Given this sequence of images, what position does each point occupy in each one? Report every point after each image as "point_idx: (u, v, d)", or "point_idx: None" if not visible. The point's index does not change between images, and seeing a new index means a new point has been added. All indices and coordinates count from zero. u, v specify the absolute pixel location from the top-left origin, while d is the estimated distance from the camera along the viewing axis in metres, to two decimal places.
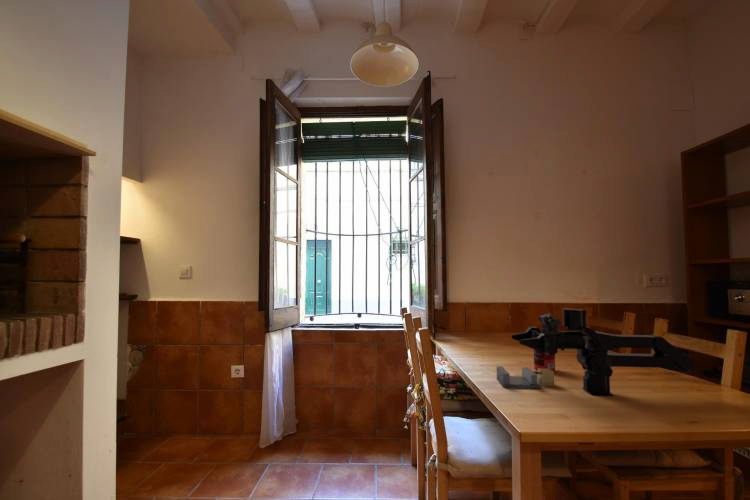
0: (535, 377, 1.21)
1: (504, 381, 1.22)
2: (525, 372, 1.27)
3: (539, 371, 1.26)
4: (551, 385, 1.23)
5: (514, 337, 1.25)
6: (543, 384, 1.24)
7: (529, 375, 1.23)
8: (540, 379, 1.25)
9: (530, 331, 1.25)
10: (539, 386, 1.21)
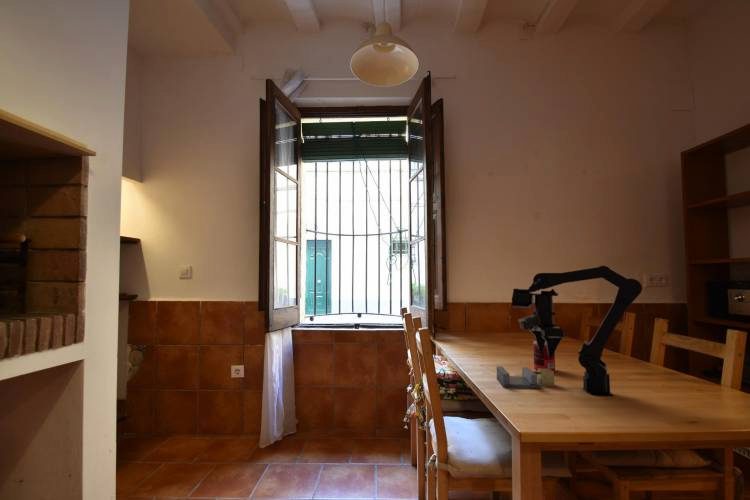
0: (535, 377, 1.21)
1: (504, 381, 1.22)
2: (525, 372, 1.27)
3: (539, 371, 1.26)
4: (551, 385, 1.23)
5: (541, 348, 1.31)
6: (543, 384, 1.24)
7: (529, 375, 1.23)
8: (540, 379, 1.25)
9: (534, 332, 1.32)
10: (539, 386, 1.21)
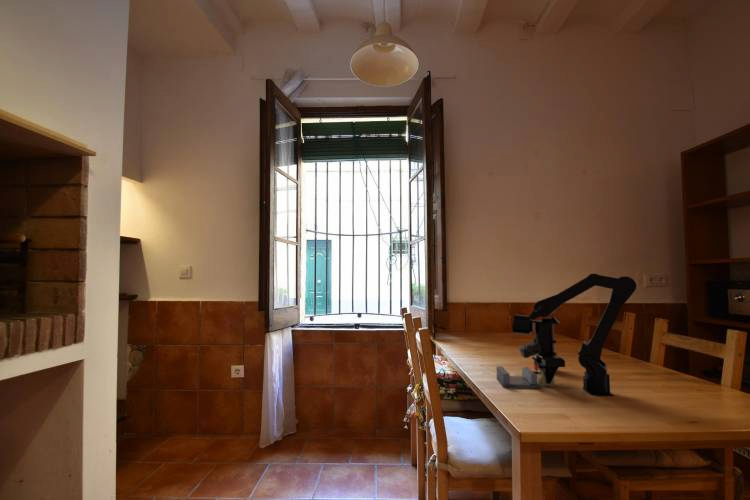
0: (535, 377, 1.21)
1: (504, 381, 1.22)
2: (525, 372, 1.27)
3: (539, 371, 1.26)
4: (551, 385, 1.23)
5: None
6: (543, 384, 1.24)
7: (529, 375, 1.23)
8: (540, 379, 1.25)
9: (537, 360, 1.29)
10: (539, 386, 1.21)
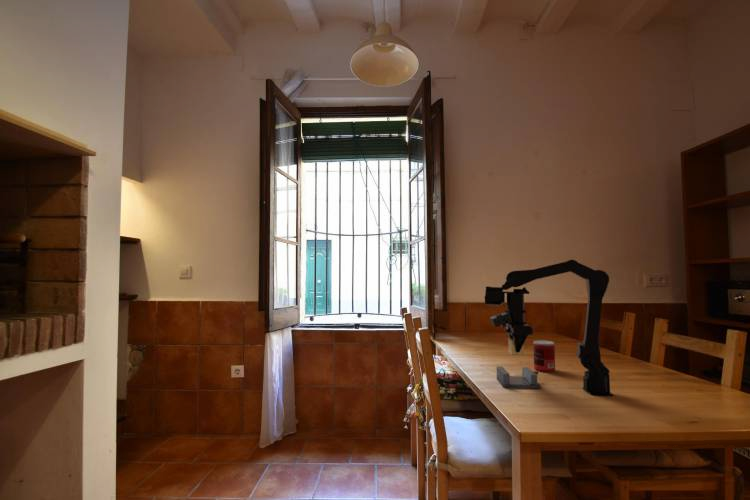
0: (535, 377, 1.21)
1: (504, 381, 1.22)
2: (525, 372, 1.27)
3: (509, 340, 1.28)
4: (520, 354, 1.25)
5: None
6: (512, 353, 1.25)
7: (529, 375, 1.23)
8: (510, 348, 1.27)
9: (508, 330, 1.31)
10: (539, 386, 1.21)
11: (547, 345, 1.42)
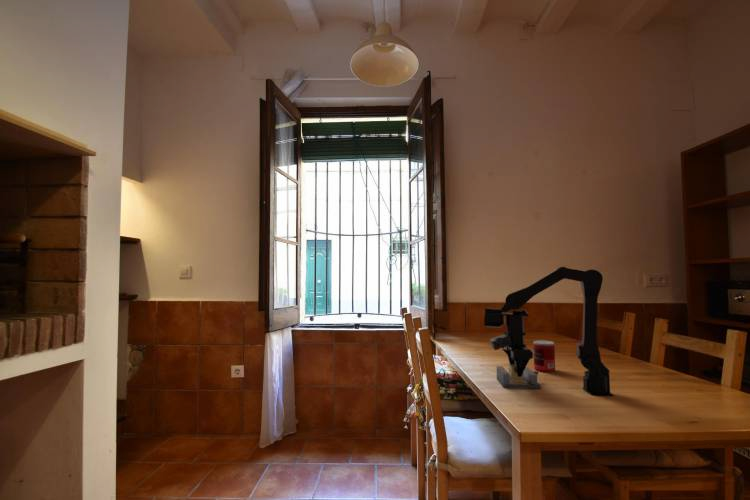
0: (535, 377, 1.21)
1: (504, 381, 1.22)
2: (525, 372, 1.27)
3: (509, 366, 1.27)
4: (521, 380, 1.25)
5: None
6: (513, 379, 1.25)
7: (529, 375, 1.23)
8: (510, 374, 1.26)
9: (506, 351, 1.32)
10: (539, 386, 1.21)
11: (547, 345, 1.42)
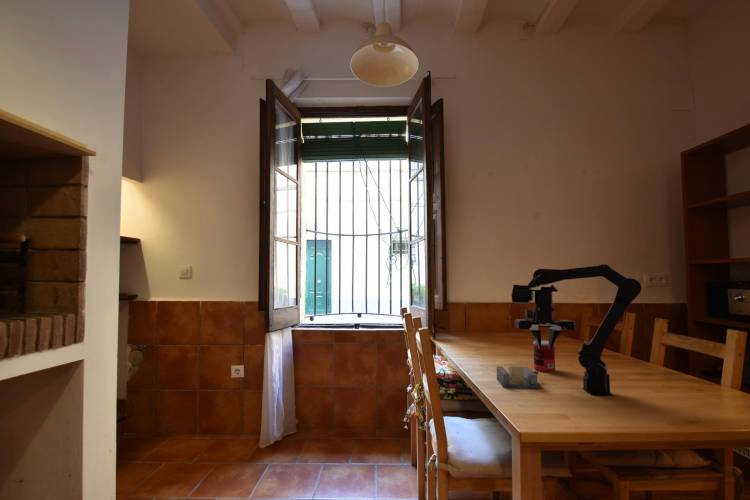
0: (535, 377, 1.21)
1: (504, 381, 1.22)
2: (525, 372, 1.27)
3: (509, 366, 1.27)
4: (521, 380, 1.25)
5: (549, 346, 1.26)
6: (513, 379, 1.25)
7: (529, 375, 1.23)
8: (510, 374, 1.26)
9: (548, 329, 1.28)
10: (539, 386, 1.21)
11: (547, 345, 1.42)
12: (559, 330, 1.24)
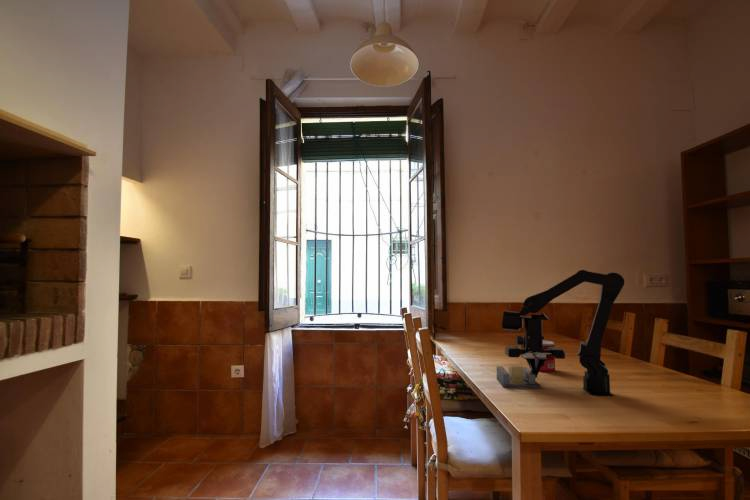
0: (533, 377, 1.21)
1: (504, 381, 1.22)
2: None
3: (509, 366, 1.27)
4: (521, 380, 1.25)
5: None
6: (513, 379, 1.25)
7: (527, 375, 1.23)
8: (510, 374, 1.26)
9: (534, 357, 1.28)
10: (539, 386, 1.21)
11: (547, 345, 1.42)
12: (544, 358, 1.24)
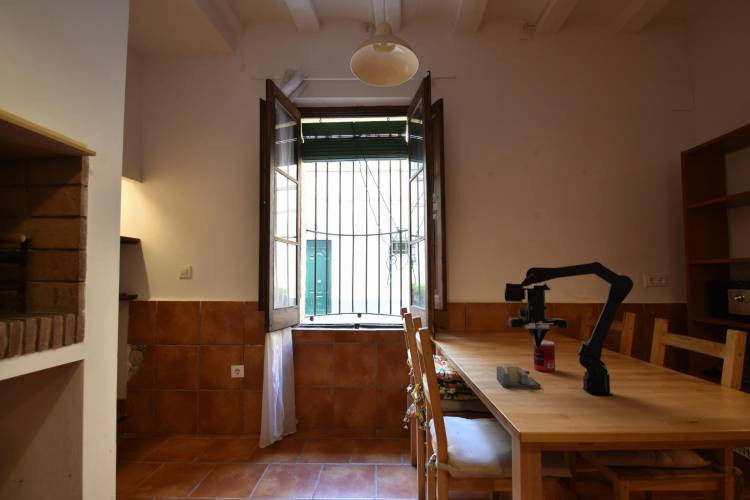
0: (526, 377, 1.22)
1: (504, 381, 1.22)
2: None
3: (505, 366, 1.27)
4: (516, 380, 1.25)
5: None
6: None
7: (520, 375, 1.23)
8: None
9: (537, 328, 1.29)
10: (539, 386, 1.21)
11: (547, 345, 1.42)
12: (547, 328, 1.25)
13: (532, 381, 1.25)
